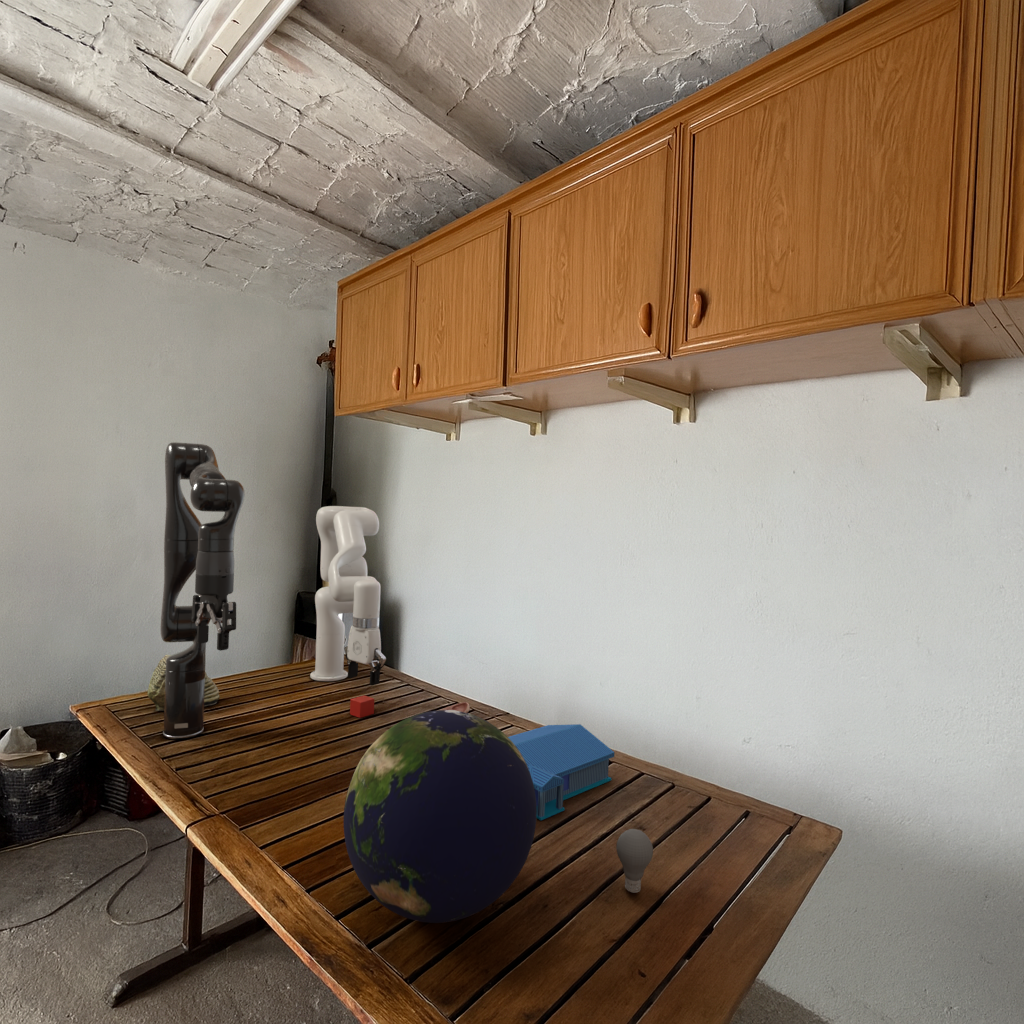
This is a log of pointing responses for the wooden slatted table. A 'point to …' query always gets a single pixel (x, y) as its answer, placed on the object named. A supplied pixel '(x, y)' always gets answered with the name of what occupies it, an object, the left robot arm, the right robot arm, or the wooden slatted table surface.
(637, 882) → the light bulb
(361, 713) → the block
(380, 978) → the wooden slatted table surface
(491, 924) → the wooden slatted table surface
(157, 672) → the fossil
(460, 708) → the anatomical model
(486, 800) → the globe
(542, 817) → the model building
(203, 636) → the left robot arm
